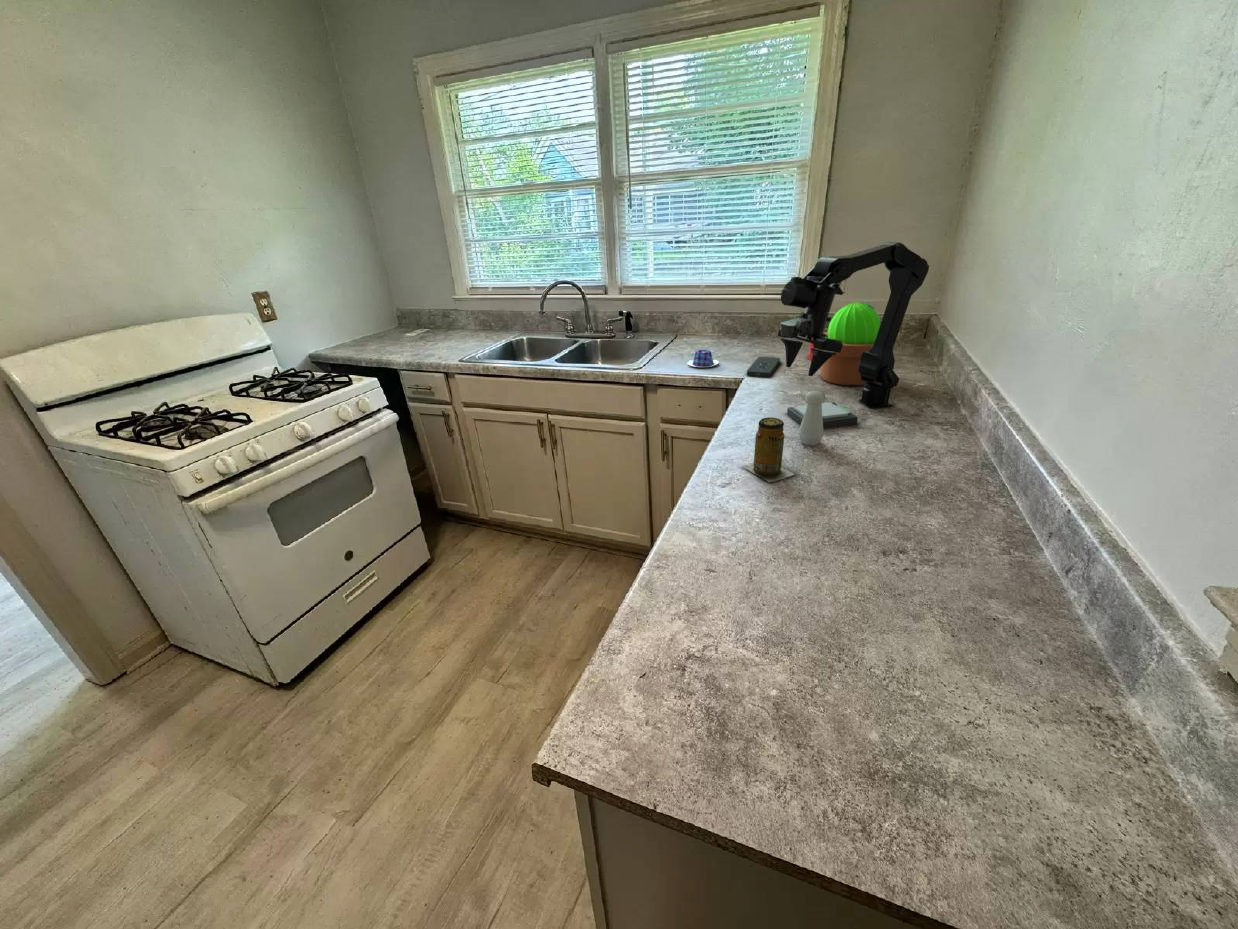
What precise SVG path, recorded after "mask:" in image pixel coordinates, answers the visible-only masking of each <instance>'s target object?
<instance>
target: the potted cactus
mask: <svg viewBox="0 0 1238 929" xmlns="http://www.w3.org/2000/svg"><path fill="white" fill-rule="evenodd" d="M862 302H863V303H862ZM862 302H859V301H856V302H855V301H854V302H853V303H850V302H849V303H848V304H847V305H846V304H845V305H844V306H842V308H840V309H839V310H837V312H836V313H834V314H833V316H832V317H831V321H830V322H829V323H828V324H829V325H828V327H827V331H826V332H825V331H824V332H823V334H826V337H828V338H833V339H837V340H840V341H842V344H843V346H842V349H841V352H840V353H839V352H835V353H836V355H832V356H831V357H830V358H829V359H828V360H827V361H826V362H825V363H824V364H823V365H822V366H821V367H820V378H821V379H822V380H824V381H825V382H827V383H830V384H834V385H840V386H865V383H867V382H865V381H862V380H861V375H860V372H859V366H858V364H859V362H860V360H861V356H862V353H863V352H864V351H865V352H868V351H869V350H870V349H871V348H872V347H873V345H874V342H875V339H876V336H877V333H878V330H879V327H880V324H881V321H882V320H881V317H880V314H879V313H878V311H877V310H876V309H875V307H874V306H872V304H869V303H868V302H866V301H864V300H863V301H862Z"/></svg>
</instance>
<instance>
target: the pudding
mask: <svg viewBox="0 0 1238 929" xmlns="http://www.w3.org/2000/svg"><path fill="white" fill-rule="evenodd" d="M719 363H720V362H719V360H717V359H714V358H713V354H712V351H711V349H698V350H696V351H695V353H694V355H693V358H692V359H690V360H688V361H687V365H688V366H691V367H694V368H710V367H714V366H717V365H718V364H719Z"/></svg>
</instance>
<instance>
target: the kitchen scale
mask: <svg viewBox="0 0 1238 929" xmlns="http://www.w3.org/2000/svg"><path fill="white" fill-rule="evenodd" d="M807 405H808V404H803V405H794V406H791V407H787V410H786V415H787V416H789V417H790V418H791V419H792V420H794V421H795V422H796V423H797V424H799V425H800V426H801V423H802V420H803V417H804V414H805V411H806V408H807ZM822 418H823V429H827V428H837V427H843V426H844V427H845V426H852V425H857V424H858V419H859V417H858V416H857V415H855V414H853V413H852V411H850V410H848V408H845V407H844V406H843V405H840V404H837V403H836V402H831V401H830V402H823V403H822Z"/></svg>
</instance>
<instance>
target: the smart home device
mask: <svg viewBox="0 0 1238 929" xmlns="http://www.w3.org/2000/svg"><path fill="white" fill-rule="evenodd" d="M780 363H781V358H780V357H773V356H758V357H757V358H756V360H754V362H753V363H752V364H751V365H750V366H749V367H748V369H747V370H746V376H748V377H749V376H751V377H761V378H762V377H763V378H769V377H771V376H772V374H773V373H774V371H775V370H776V368H777V367H778V366H779V364H780Z"/></svg>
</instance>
